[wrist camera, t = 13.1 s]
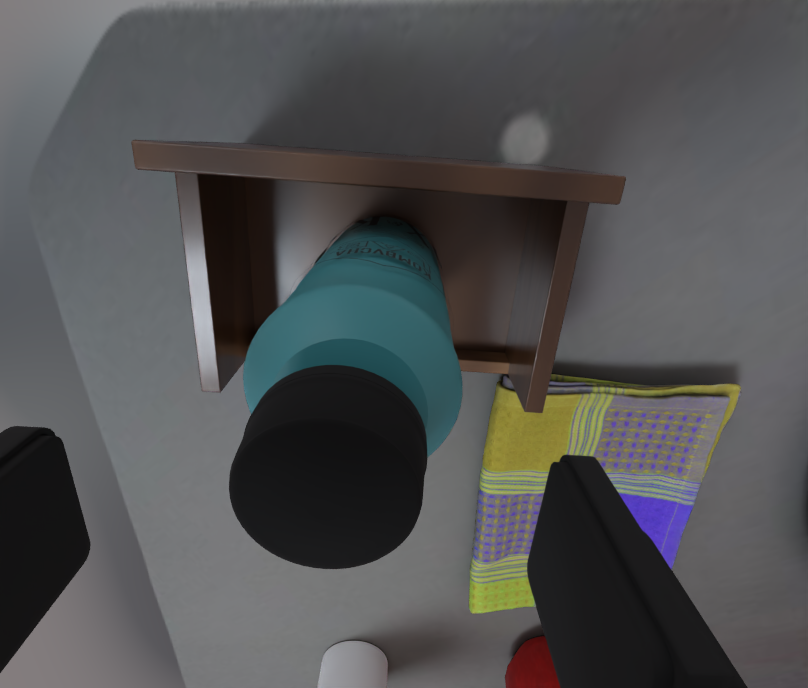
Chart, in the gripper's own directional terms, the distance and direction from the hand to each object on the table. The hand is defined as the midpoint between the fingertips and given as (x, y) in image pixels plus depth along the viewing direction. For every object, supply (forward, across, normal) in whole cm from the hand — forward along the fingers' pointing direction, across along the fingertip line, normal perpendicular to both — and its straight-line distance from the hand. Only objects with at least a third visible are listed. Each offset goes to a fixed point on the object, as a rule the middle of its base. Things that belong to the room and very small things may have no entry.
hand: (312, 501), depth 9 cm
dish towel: (+23, -18, +19) cm, 34 cm away
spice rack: (+23, -1, 0) cm, 23 cm away
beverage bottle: (+20, -1, 0) cm, 20 cm away
